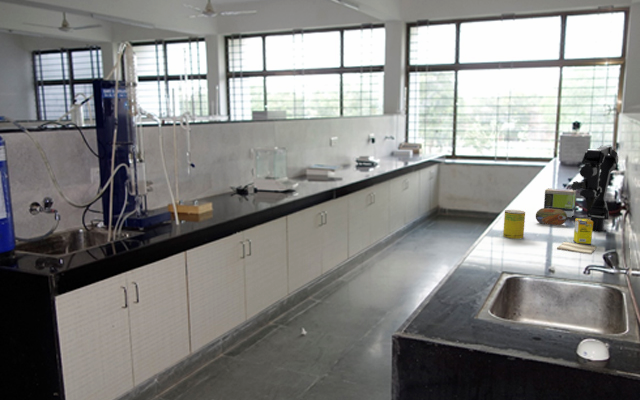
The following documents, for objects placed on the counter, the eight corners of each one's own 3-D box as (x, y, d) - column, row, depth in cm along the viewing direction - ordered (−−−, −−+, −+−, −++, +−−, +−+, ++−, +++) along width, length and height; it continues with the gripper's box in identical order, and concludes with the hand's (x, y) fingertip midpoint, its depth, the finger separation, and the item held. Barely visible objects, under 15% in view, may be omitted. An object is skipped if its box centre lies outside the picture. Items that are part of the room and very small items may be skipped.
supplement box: (591, 245, 229) (593, 221, 227) (576, 244, 230) (578, 220, 228) (587, 242, 235) (589, 218, 233) (573, 241, 236) (575, 218, 234)
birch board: (564, 242, 233) (564, 241, 233) (596, 247, 226) (596, 246, 225) (557, 248, 223) (557, 247, 223) (590, 254, 215) (590, 252, 215)
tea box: (574, 215, 296) (576, 189, 294) (571, 218, 288) (574, 191, 286) (545, 212, 304) (547, 187, 302) (542, 215, 296) (544, 189, 294)
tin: (535, 223, 274) (536, 207, 273) (535, 222, 277) (536, 206, 275) (566, 226, 268) (567, 210, 267) (566, 224, 271) (567, 209, 270)
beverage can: (524, 239, 240) (526, 213, 238) (504, 238, 242) (506, 213, 240) (521, 234, 249) (523, 210, 247) (501, 233, 250) (503, 209, 248)
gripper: (577, 173, 254) (575, 204, 257) (569, 176, 240) (566, 210, 242) (603, 174, 248) (600, 207, 250) (596, 178, 233) (592, 212, 236)
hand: (589, 209), depth 245 cm, fingers open, 3 cm apart
